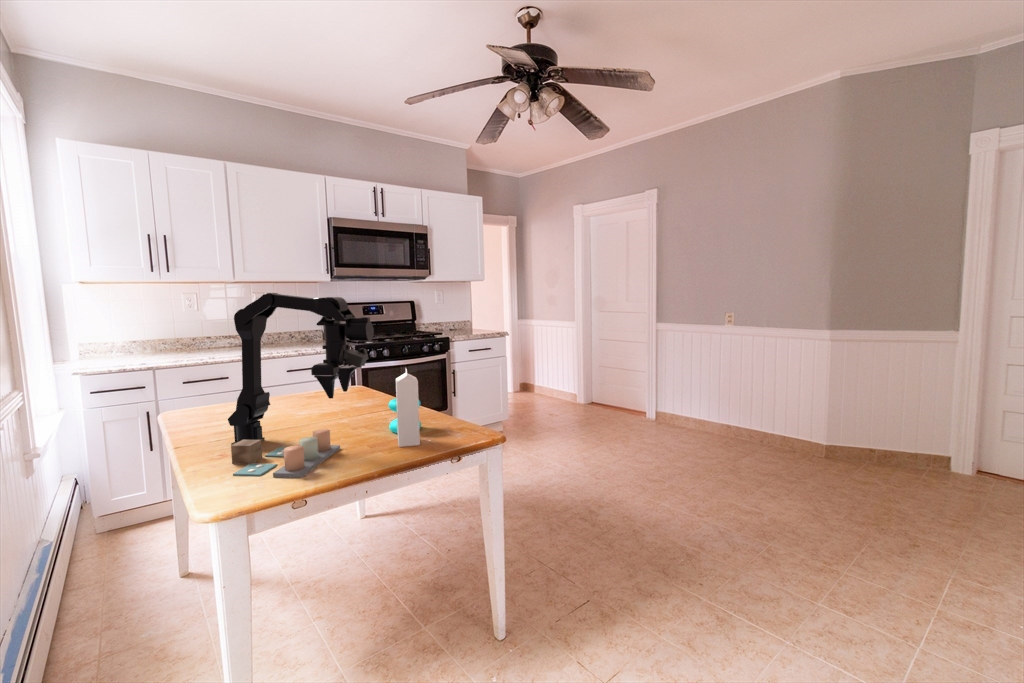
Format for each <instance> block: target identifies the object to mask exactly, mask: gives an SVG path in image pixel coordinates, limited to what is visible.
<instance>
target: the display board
mask: <svg viewBox="0 0 1024 683" xmlns="http://www.w3.org/2000/svg"><path fill="white" fill-rule="evenodd" d="M285 447H286V448H285V449H284V457H283V459H284V461H283V462H284V465H283V466H281V467H280V468H279V469H277V470H276V471H274V472H273V473H272V477H273V478H288V479H289V478H293V479H294V478H298V479H301V478H303V477H304V476H305V475H307V474H308V473H310V472H311V471H313V470H314V469H315V468H316V467H317V466H319V465H321V464H322V463H323V462H325V461H326V460H327V459H328V458H330V457H331V456H333V454H335V453H337V452H338V451H339V450H341V445H340V444H331V430H330V429H328V428H323V429H317V430H314V431H312V436H307V437H302V438H300V439H299V441H298V445H291V446H290V445H289V446H285Z"/></svg>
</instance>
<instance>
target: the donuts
mask: <svg viewBox="0 0 1024 683" xmlns="http://www.w3.org/2000/svg"><path fill="white" fill-rule="evenodd" d="M421 404H422V403H421V400H420V399H419V408H420V407H421ZM388 408H389V410H391V411H392V412H395V413H397V403H396V398H393V399H391V400H390V401H389V402H388ZM421 427H422V423H421V421H420V420H419V430H420V429H421ZM388 428H389V430H390V431H391V432H392V433H394V434H398V432H397V418H395V419H393V420H392V421H390V423H389V427H388Z"/></svg>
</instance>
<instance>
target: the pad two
mask: <svg viewBox="0 0 1024 683" xmlns="http://www.w3.org/2000/svg"><path fill="white" fill-rule="evenodd" d="M277 466H278V464H277V463H257V462H254V463H251V464H246V466H244V467H242V468H240V469H238V470H237V471H235V472H234V473H232V476H237V477H238V476H246V477H247V476H248V477H261V476H264V475H265V474H266V473H268V472H269V471H271V470H272V469H274V468H275V467H277Z"/></svg>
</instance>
